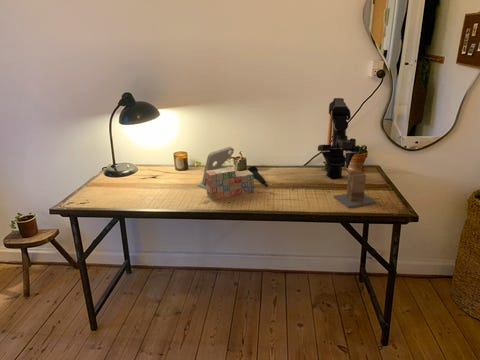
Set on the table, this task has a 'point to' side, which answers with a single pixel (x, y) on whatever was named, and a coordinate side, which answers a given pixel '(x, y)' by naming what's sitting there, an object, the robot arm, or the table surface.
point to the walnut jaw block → (356, 185)
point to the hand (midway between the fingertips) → (338, 167)
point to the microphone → (257, 175)
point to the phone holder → (220, 158)
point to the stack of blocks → (228, 183)
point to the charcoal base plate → (352, 204)
